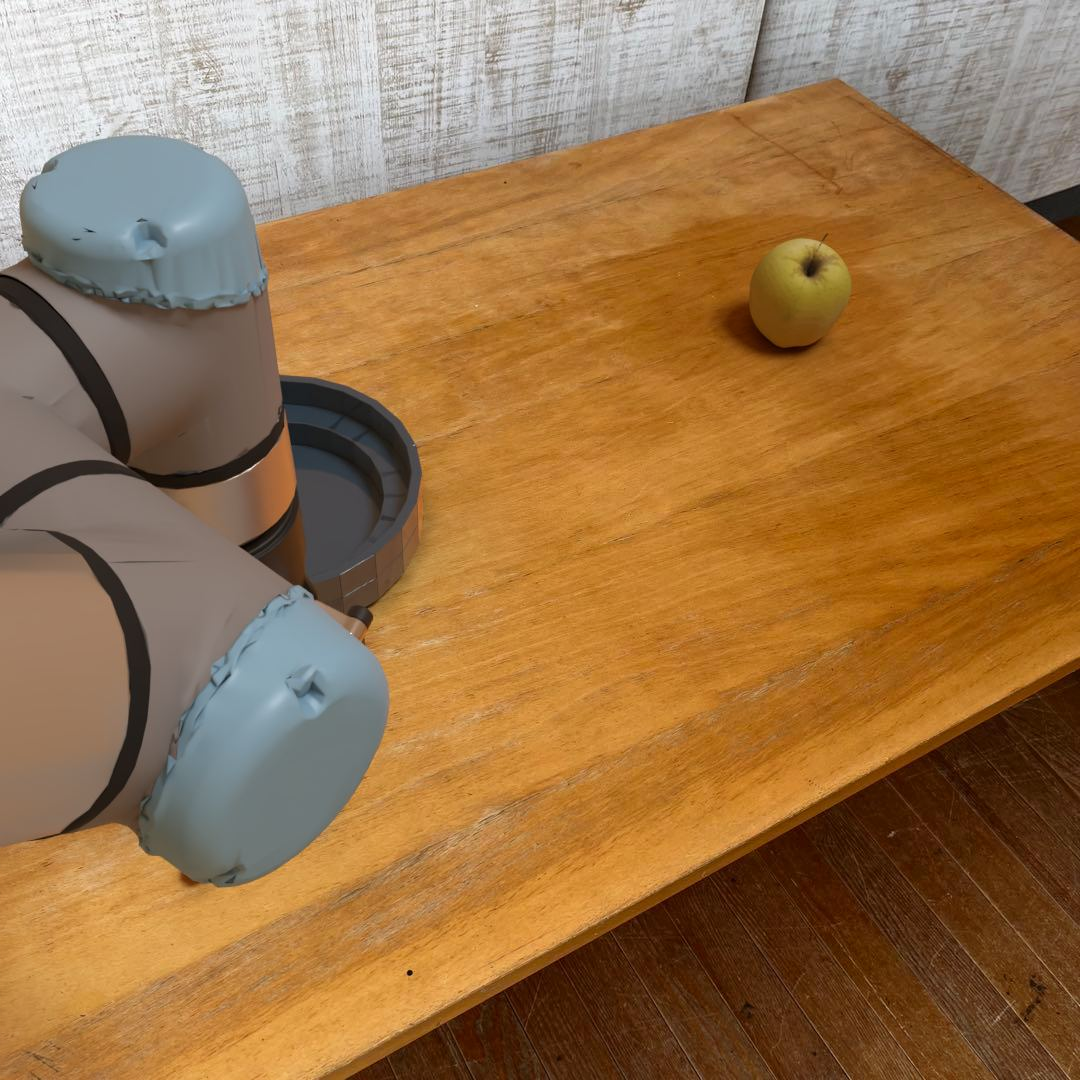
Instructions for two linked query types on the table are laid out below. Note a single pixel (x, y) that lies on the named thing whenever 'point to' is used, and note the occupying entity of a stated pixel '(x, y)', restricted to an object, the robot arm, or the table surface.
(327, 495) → the bowl
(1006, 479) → the table surface
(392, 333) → the table surface
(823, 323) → the apple
